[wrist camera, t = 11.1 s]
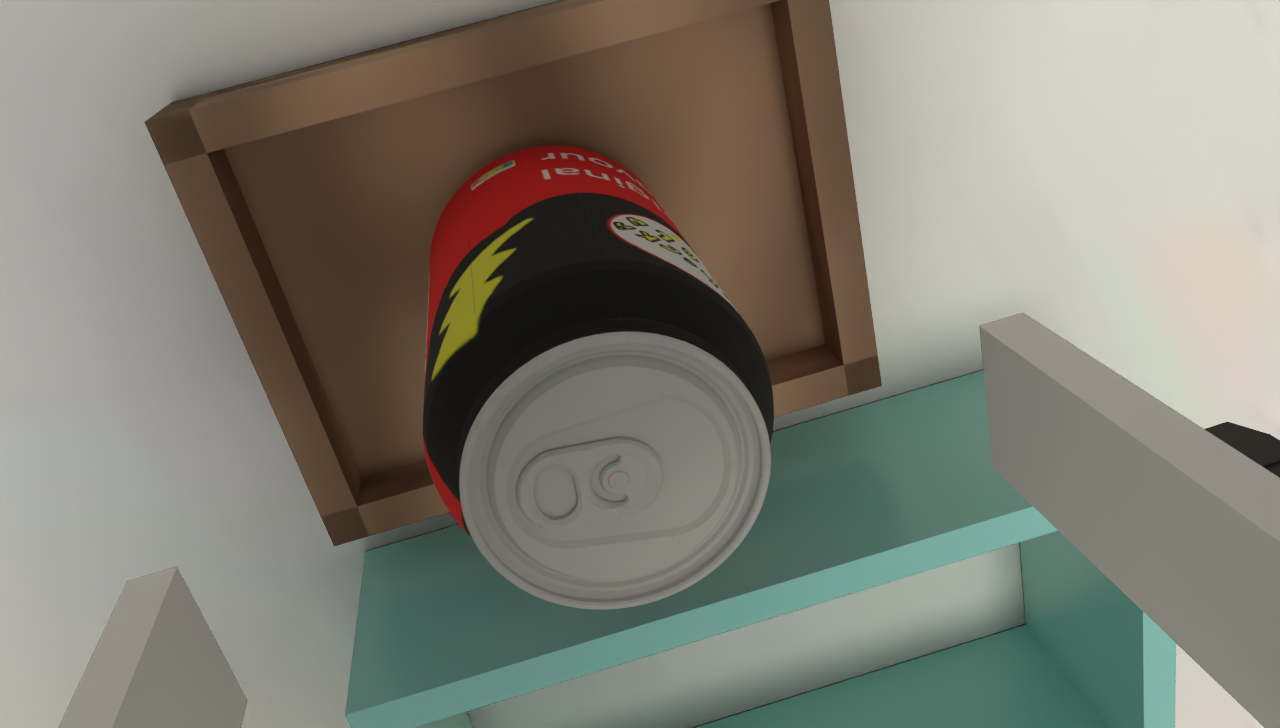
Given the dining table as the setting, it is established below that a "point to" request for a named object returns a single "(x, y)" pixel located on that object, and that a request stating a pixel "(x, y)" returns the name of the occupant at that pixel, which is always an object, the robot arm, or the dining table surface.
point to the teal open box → (794, 595)
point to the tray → (479, 134)
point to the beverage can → (588, 385)
